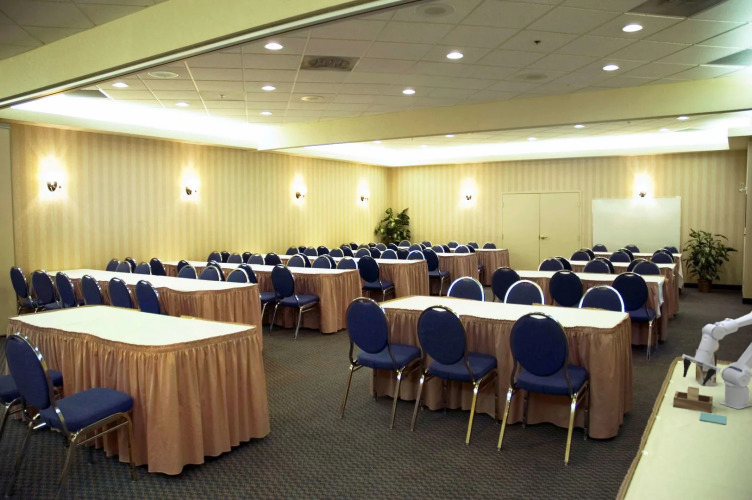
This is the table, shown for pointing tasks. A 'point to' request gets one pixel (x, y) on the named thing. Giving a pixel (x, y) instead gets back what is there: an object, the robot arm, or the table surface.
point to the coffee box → (702, 371)
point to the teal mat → (713, 418)
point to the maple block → (693, 393)
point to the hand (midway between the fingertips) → (693, 381)
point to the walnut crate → (693, 402)
